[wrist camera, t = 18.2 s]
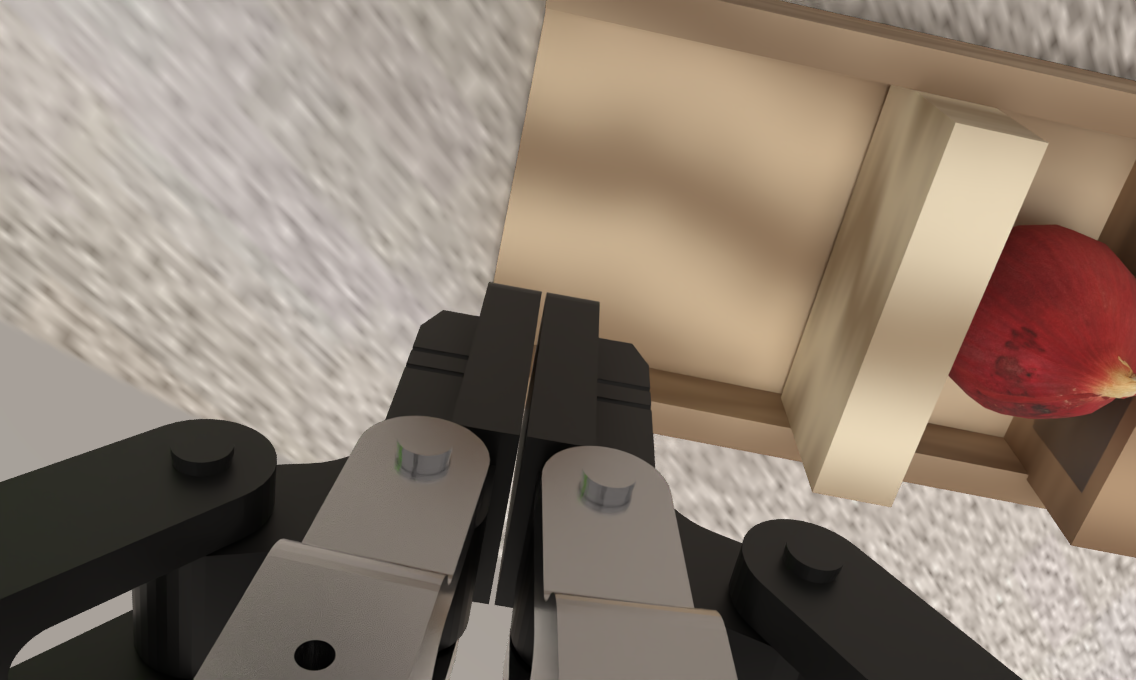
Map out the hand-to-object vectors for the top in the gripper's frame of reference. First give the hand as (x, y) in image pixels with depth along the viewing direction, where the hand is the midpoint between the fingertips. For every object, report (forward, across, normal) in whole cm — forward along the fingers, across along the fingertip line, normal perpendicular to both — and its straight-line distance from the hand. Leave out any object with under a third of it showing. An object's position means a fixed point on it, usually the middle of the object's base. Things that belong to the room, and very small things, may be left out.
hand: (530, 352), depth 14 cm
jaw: (+19, -11, +5) cm, 23 cm away
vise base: (+21, -10, +5) cm, 23 cm away
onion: (+20, -14, +5) cm, 25 cm away
